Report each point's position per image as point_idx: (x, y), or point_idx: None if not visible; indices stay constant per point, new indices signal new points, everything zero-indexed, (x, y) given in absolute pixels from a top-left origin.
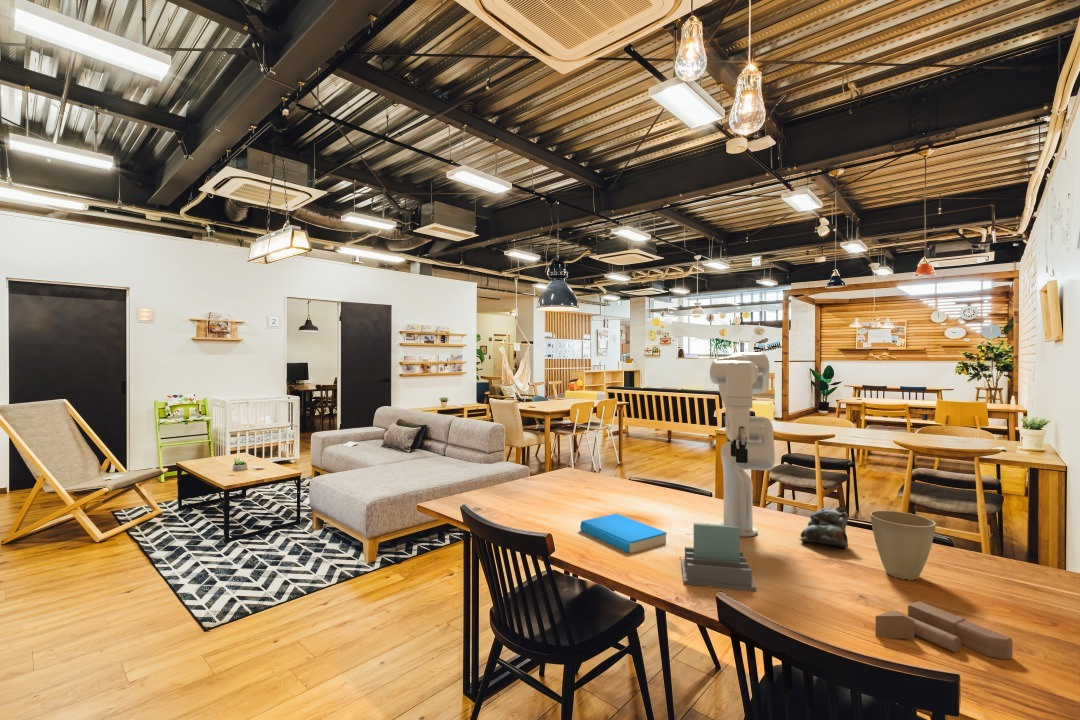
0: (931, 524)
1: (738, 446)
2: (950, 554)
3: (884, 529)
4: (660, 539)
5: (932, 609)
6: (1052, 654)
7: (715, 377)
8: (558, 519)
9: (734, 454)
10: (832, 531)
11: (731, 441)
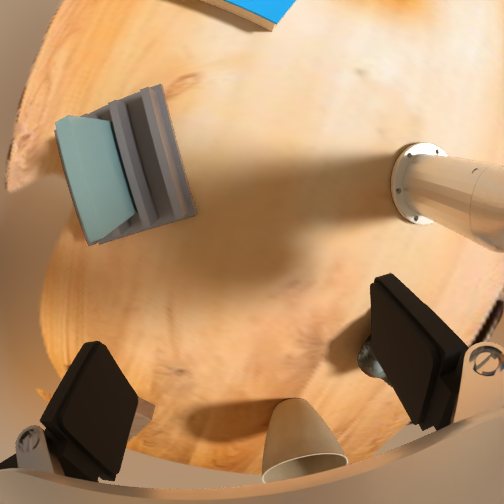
0: None
1: (23, 451)
2: (379, 431)
3: (274, 454)
4: (255, 18)
5: (135, 424)
6: (154, 452)
7: None
8: None
9: (378, 313)
10: (370, 368)
11: (497, 351)
